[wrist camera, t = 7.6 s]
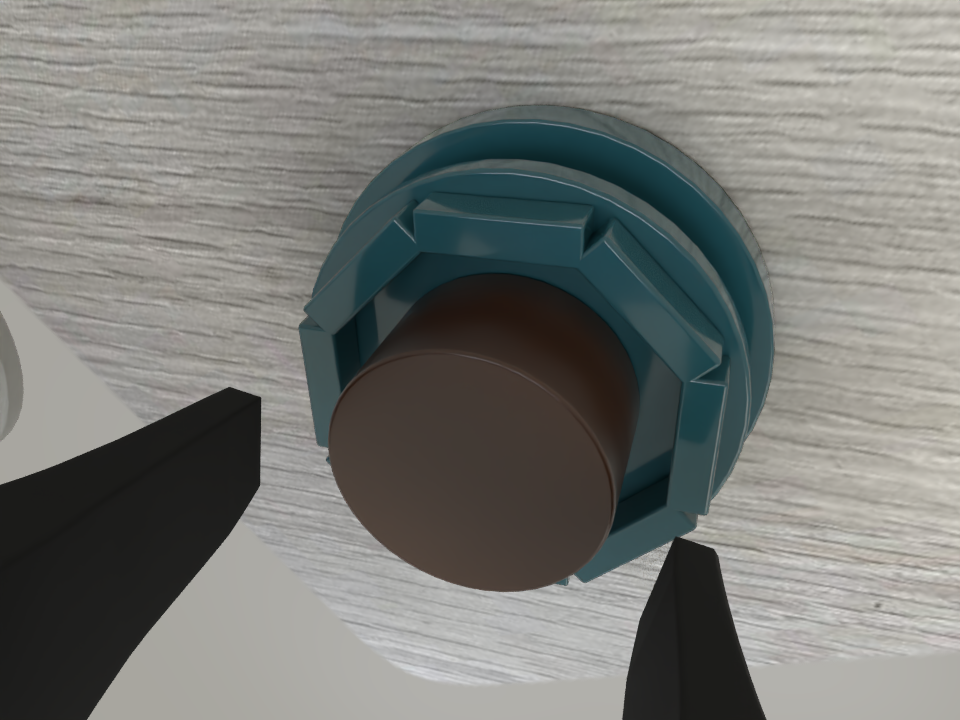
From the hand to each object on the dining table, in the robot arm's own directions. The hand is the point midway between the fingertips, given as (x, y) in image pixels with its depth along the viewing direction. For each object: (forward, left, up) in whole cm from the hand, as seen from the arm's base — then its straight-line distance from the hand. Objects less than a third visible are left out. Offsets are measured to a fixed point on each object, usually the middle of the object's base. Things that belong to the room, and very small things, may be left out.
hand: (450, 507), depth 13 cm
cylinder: (0, 0, -4) cm, 4 cm away
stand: (0, 0, -7) cm, 7 cm away
